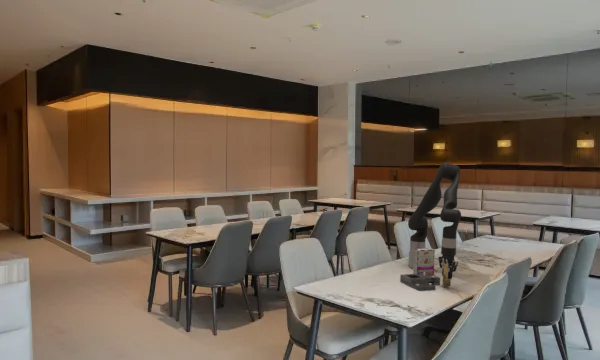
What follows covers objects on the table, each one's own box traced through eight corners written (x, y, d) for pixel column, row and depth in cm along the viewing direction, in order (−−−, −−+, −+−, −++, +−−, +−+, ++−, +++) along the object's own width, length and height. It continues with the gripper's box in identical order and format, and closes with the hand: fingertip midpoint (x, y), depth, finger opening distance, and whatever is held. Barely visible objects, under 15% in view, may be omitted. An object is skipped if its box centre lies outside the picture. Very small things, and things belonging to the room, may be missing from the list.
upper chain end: (400, 281, 247) (400, 273, 247) (428, 279, 254) (429, 271, 253) (410, 286, 238) (410, 278, 238) (439, 284, 244) (440, 276, 244)
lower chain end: (400, 281, 247) (400, 277, 247) (415, 280, 251) (415, 276, 251) (419, 291, 230) (419, 286, 230) (435, 289, 234) (435, 284, 234)
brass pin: (441, 284, 240) (442, 262, 239) (447, 284, 241) (448, 262, 241) (445, 286, 236) (447, 264, 236) (452, 286, 237) (453, 264, 237)
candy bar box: (429, 275, 264) (430, 247, 264) (433, 277, 260) (435, 249, 259) (412, 275, 262) (413, 248, 261) (416, 278, 257) (418, 250, 256)
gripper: (463, 248, 232) (461, 281, 233) (446, 243, 246) (444, 273, 246) (451, 249, 230) (449, 281, 231) (434, 243, 243) (433, 274, 244)
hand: (447, 277), depth 239 cm, fingers closed on brass pin, 4 cm apart
